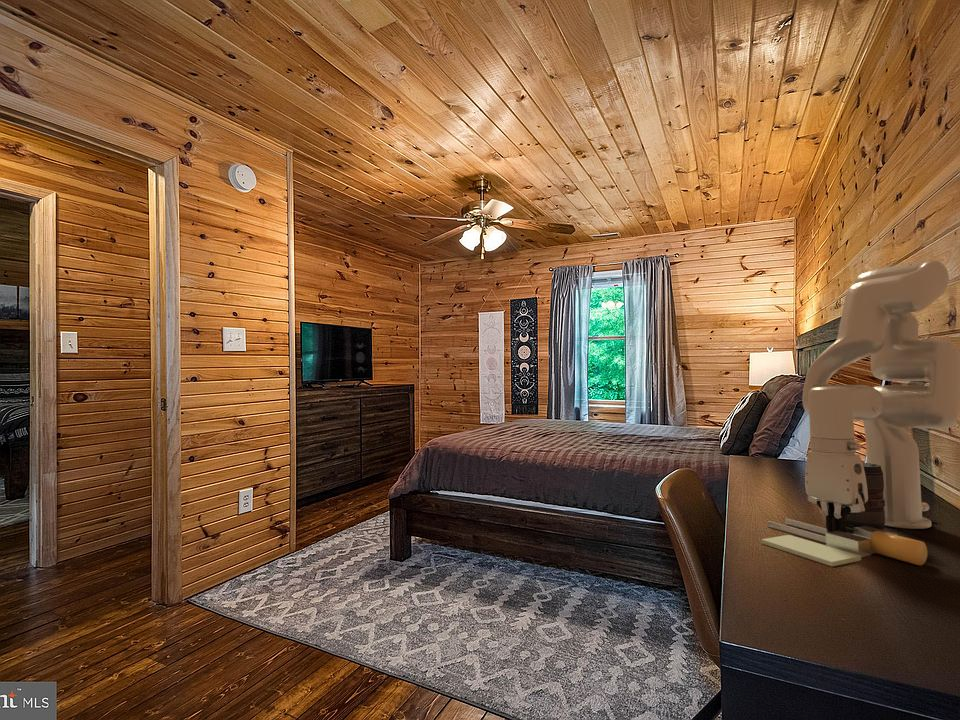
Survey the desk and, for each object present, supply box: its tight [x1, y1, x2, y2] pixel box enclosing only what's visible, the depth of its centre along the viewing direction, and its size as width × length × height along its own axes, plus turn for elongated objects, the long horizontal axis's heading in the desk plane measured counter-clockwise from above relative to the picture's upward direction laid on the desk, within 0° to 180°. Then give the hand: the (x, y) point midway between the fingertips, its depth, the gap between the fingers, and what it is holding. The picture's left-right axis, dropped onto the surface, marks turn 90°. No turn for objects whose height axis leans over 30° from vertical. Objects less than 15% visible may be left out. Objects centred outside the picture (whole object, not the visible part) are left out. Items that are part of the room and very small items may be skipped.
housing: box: [767, 517, 899, 558], centre depth 105 cm, size 12×21×3 cm, turn 22°
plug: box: [846, 531, 928, 566], centre depth 95 cm, size 4×13×4 cm, turn 22°
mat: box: [761, 534, 862, 567], centre depth 97 cm, size 8×14×1 cm, turn 22°
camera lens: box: [846, 462, 885, 534], centre depth 108 cm, size 8×8×15 cm
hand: (836, 535), depth 103 cm, fingers closed
